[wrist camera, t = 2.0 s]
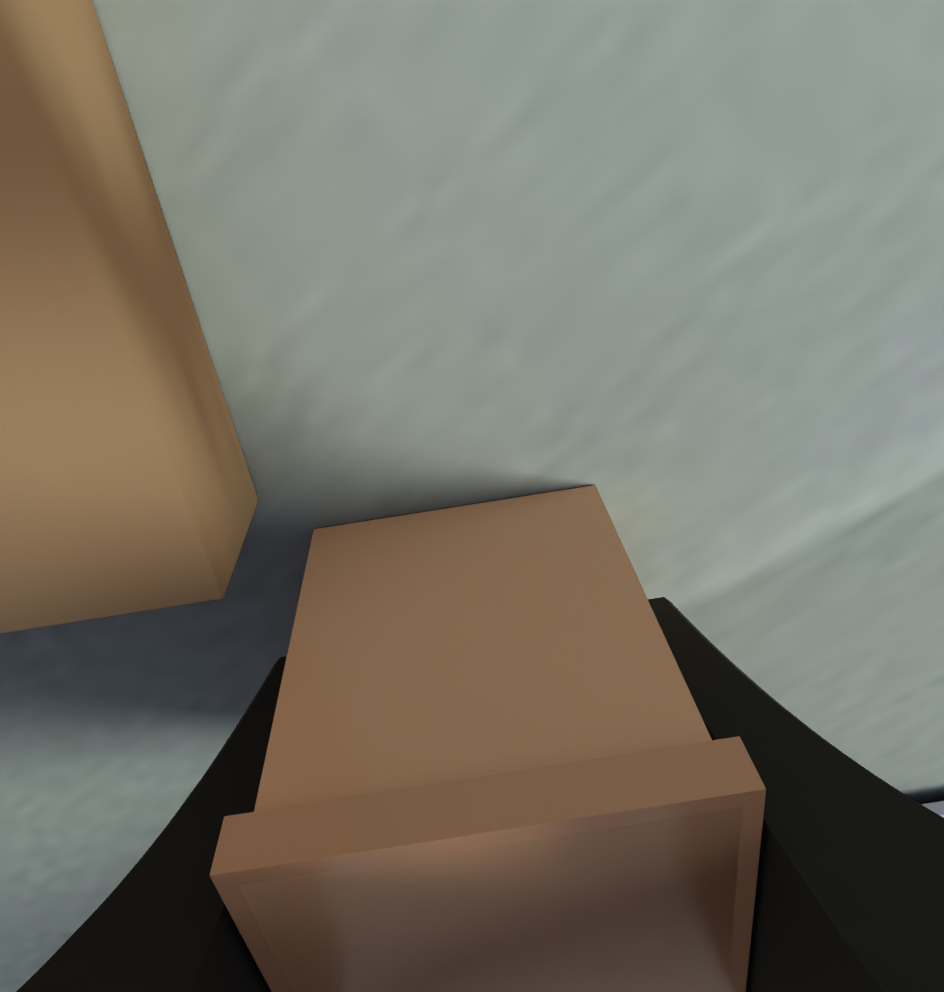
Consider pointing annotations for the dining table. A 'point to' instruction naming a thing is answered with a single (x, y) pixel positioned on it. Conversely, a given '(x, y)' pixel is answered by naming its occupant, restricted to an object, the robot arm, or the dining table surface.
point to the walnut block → (99, 353)
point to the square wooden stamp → (491, 772)
